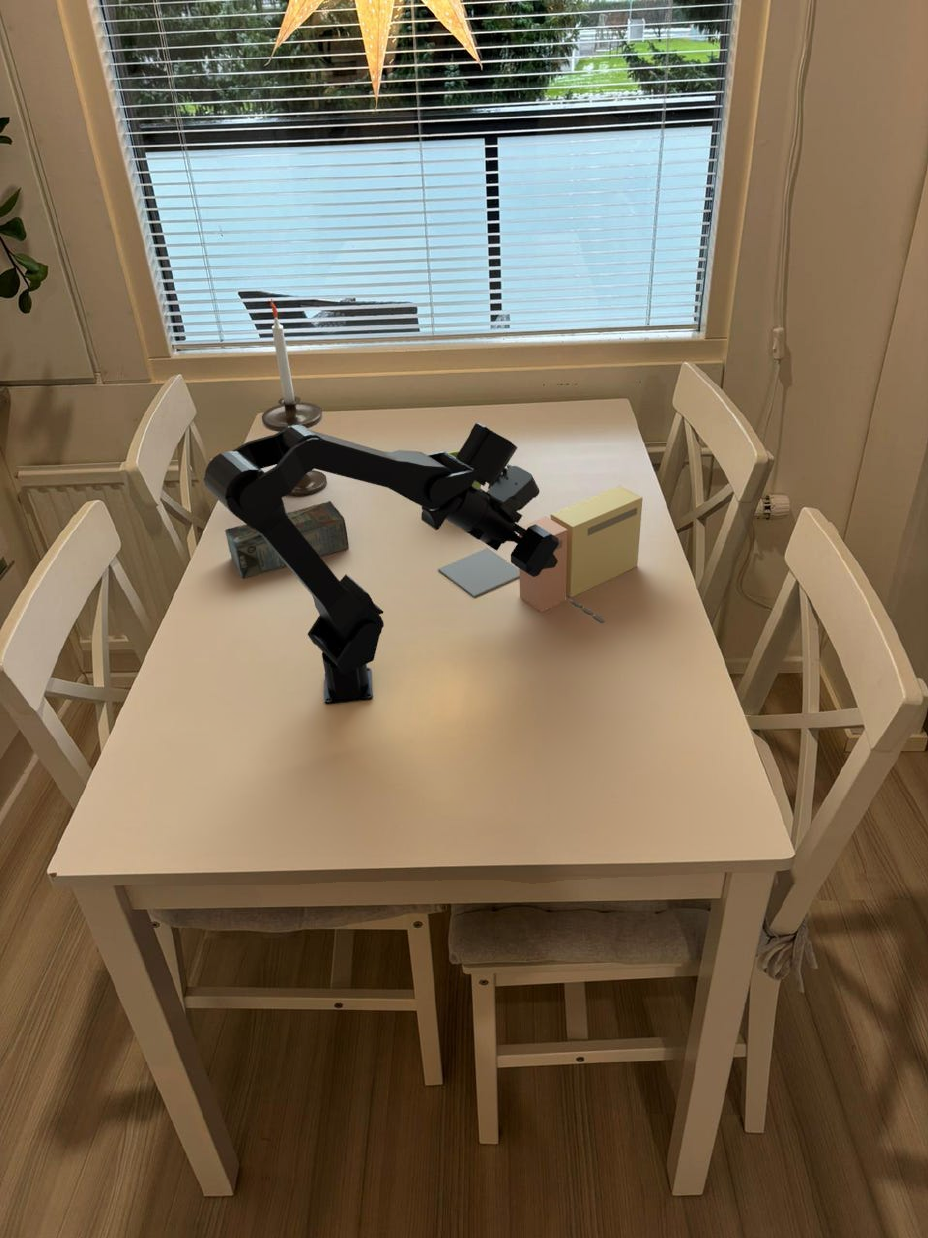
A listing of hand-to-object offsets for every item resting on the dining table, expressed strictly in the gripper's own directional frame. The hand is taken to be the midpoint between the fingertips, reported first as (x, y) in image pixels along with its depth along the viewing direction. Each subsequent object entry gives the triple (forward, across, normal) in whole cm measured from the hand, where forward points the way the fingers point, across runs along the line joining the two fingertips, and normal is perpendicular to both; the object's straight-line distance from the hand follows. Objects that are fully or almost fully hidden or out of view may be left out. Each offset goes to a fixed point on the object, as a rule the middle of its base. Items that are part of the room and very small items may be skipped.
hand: (535, 550), depth 137 cm
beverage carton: (-10, +37, +23) cm, 45 cm away
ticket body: (+15, 0, -2) cm, 15 cm away
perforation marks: (+10, 0, +3) cm, 10 cm away
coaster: (+5, +12, +8) cm, 15 cm away
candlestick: (0, +58, +14) cm, 60 cm away
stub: (+8, 0, +6) cm, 9 cm away
